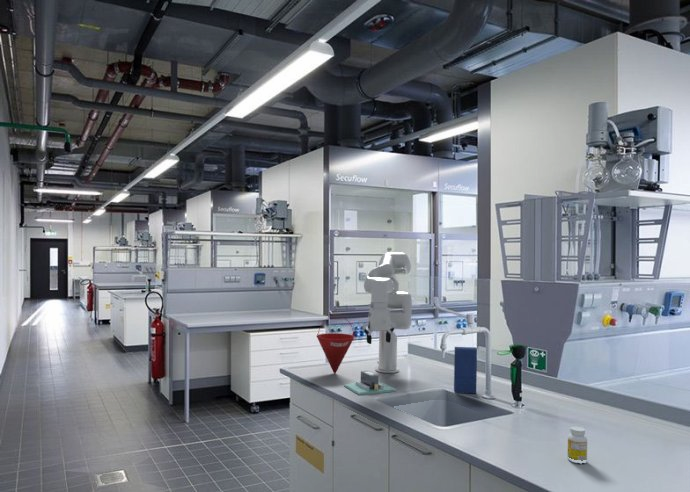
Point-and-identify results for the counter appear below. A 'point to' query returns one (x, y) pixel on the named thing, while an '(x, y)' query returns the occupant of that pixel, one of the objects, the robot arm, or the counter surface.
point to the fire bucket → (335, 346)
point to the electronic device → (465, 370)
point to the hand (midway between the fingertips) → (378, 342)
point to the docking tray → (364, 389)
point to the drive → (369, 379)
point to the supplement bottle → (577, 444)
